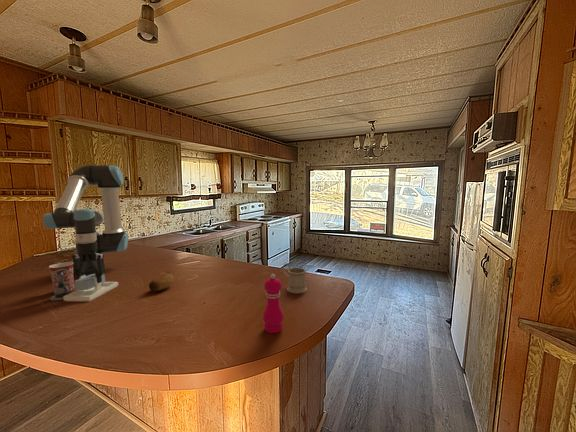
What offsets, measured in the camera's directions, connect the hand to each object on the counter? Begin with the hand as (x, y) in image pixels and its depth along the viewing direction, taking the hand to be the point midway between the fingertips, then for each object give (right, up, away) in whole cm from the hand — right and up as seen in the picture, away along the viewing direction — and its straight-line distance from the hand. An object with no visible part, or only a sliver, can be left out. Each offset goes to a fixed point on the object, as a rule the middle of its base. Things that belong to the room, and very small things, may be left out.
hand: (91, 289), depth 119 cm
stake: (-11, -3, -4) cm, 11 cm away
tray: (0, -2, +1) cm, 3 cm away
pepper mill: (+89, -5, -31) cm, 95 cm away
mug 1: (-15, -2, +5) cm, 16 cm away
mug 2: (+97, -1, +6) cm, 97 cm away
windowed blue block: (0, +2, 0) cm, 2 cm away
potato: (+31, -2, +6) cm, 32 cm away
